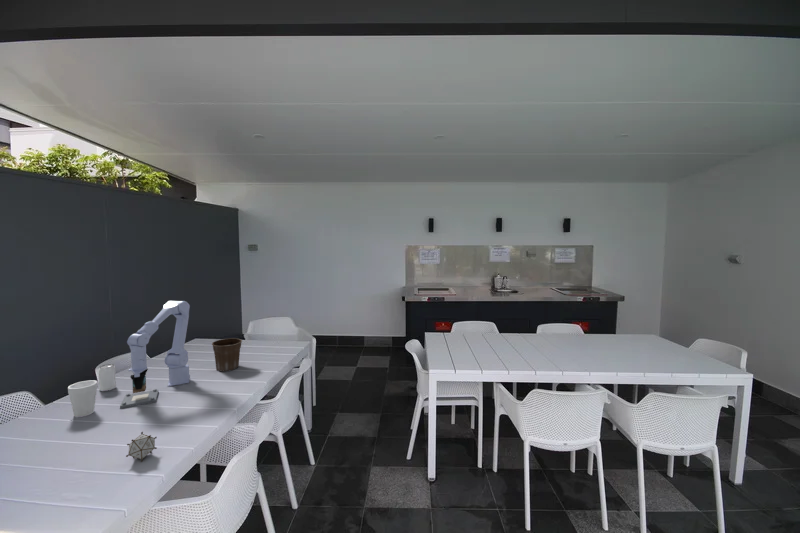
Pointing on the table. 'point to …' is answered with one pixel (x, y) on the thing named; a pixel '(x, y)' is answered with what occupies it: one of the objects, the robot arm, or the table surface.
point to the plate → (139, 398)
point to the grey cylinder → (107, 377)
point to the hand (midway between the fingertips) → (139, 387)
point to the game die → (141, 446)
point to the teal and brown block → (142, 387)
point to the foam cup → (83, 397)
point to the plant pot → (227, 353)
